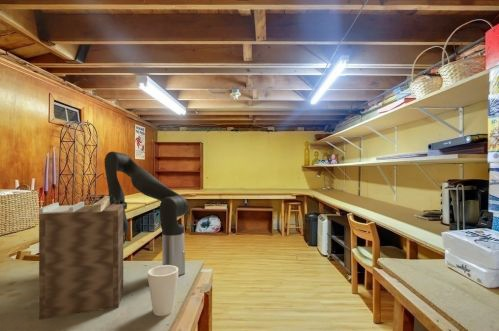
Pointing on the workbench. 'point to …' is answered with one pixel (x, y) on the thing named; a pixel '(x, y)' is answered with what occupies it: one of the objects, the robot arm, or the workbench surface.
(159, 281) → the foam cup
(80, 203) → the trough
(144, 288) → the workbench surface
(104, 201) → the beige wooden rod
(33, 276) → the workbench surface
